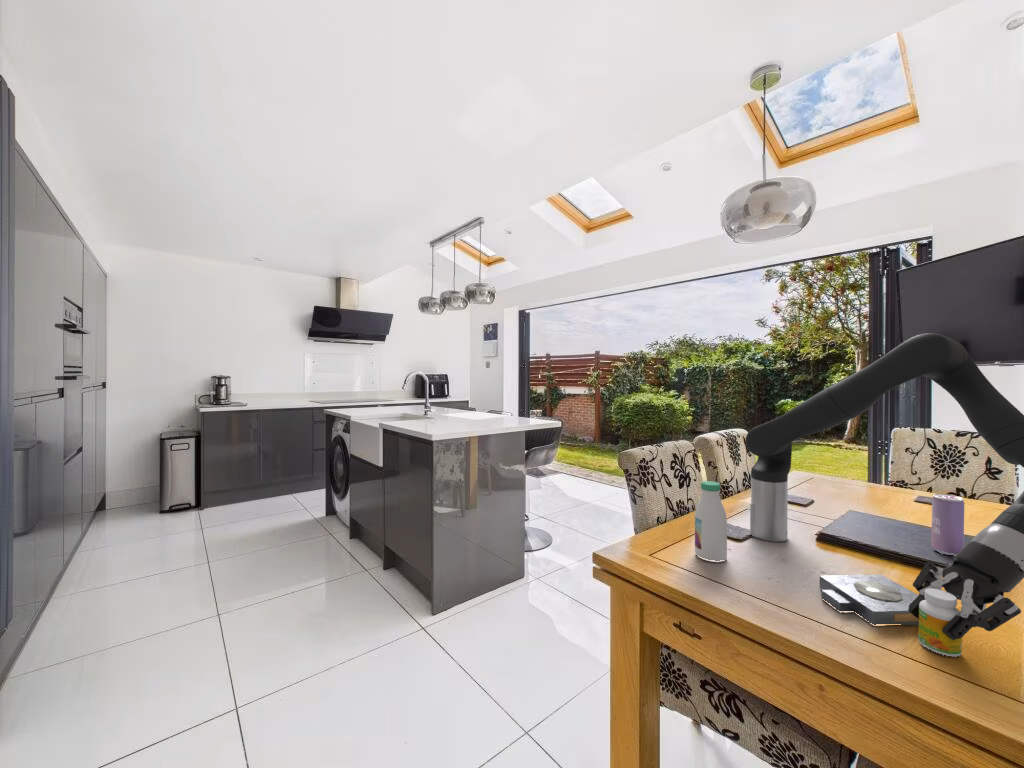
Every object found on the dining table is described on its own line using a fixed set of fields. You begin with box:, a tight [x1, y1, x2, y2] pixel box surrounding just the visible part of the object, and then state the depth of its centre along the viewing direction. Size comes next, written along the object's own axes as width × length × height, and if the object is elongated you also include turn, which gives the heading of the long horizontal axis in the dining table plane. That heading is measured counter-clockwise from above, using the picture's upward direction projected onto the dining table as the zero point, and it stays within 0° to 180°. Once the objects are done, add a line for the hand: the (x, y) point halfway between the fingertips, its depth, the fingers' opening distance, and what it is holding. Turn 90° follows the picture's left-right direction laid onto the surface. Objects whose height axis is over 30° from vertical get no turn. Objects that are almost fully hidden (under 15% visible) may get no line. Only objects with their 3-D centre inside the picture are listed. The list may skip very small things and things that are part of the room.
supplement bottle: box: [917, 588, 963, 658], centre depth 74 cm, size 5×5×10 cm
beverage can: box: [930, 493, 965, 554], centre depth 112 cm, size 6×6×15 cm
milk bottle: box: [694, 480, 728, 561], centre depth 111 cm, size 8×8×20 cm
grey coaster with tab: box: [819, 573, 919, 625], centre depth 88 cm, size 17×14×3 cm
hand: (930, 624), depth 74 cm, fingers closed on supplement bottle, 5 cm apart
